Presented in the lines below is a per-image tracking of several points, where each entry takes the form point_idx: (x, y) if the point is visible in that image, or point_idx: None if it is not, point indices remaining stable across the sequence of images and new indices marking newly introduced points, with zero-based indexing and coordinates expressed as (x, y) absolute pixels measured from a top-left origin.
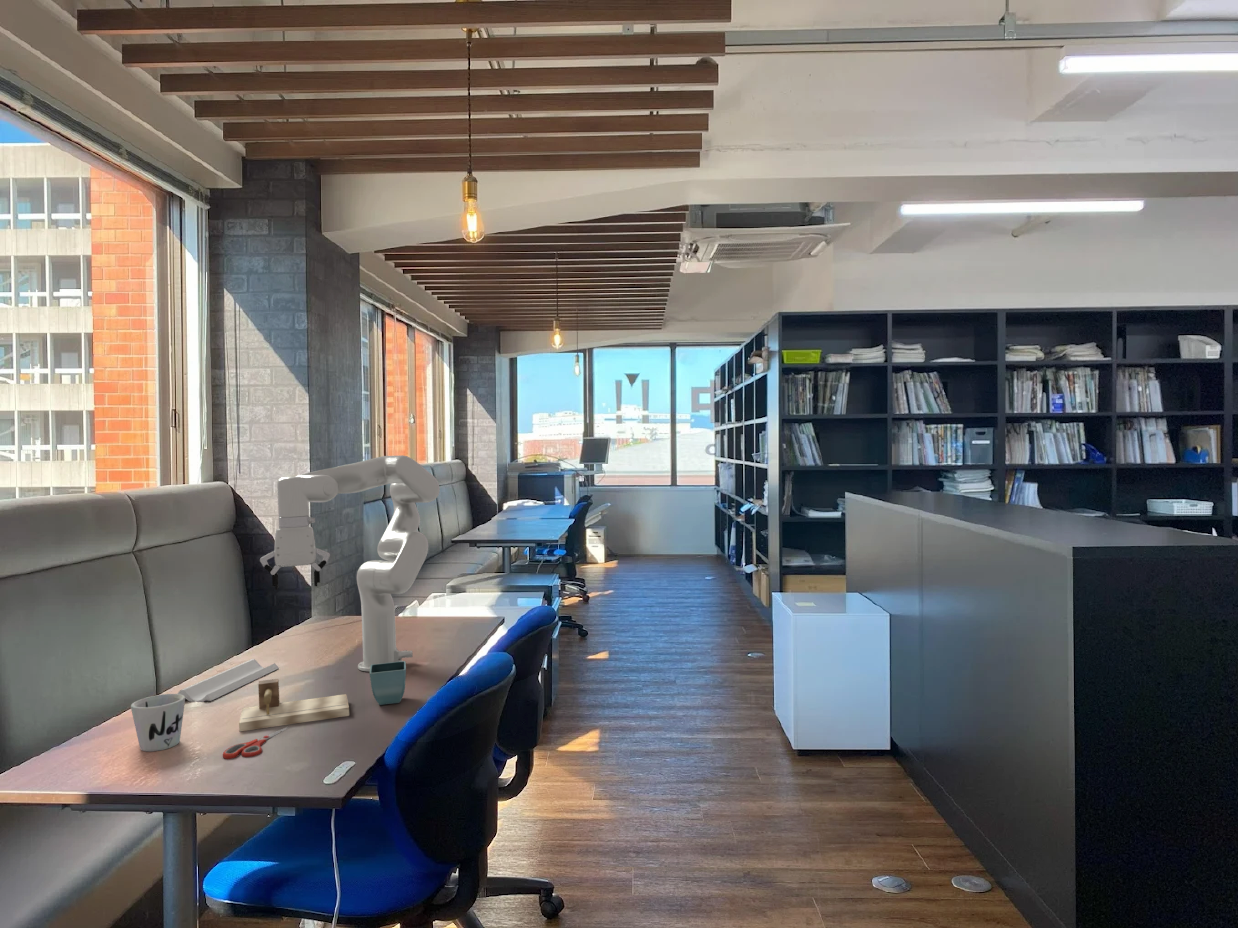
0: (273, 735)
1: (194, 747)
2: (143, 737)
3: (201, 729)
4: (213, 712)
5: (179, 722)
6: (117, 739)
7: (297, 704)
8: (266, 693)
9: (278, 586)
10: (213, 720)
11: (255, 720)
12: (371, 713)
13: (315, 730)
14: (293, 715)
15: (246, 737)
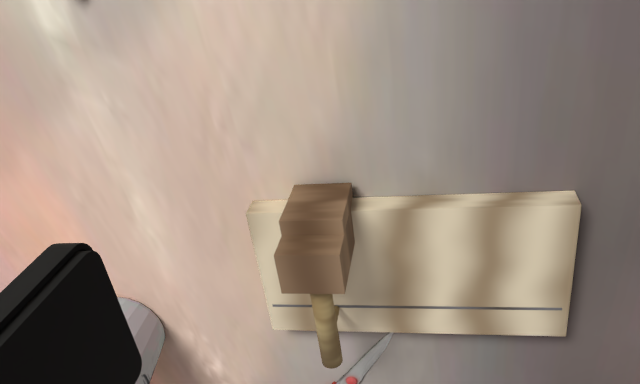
0: (366, 371)
1: (209, 363)
2: None
3: (177, 262)
4: (149, 128)
5: (150, 378)
6: (8, 251)
7: (410, 247)
8: (321, 331)
9: (87, 257)
10: (180, 204)
11: (310, 329)
12: (627, 325)
13: (462, 378)
14: (406, 332)
15: (305, 354)
